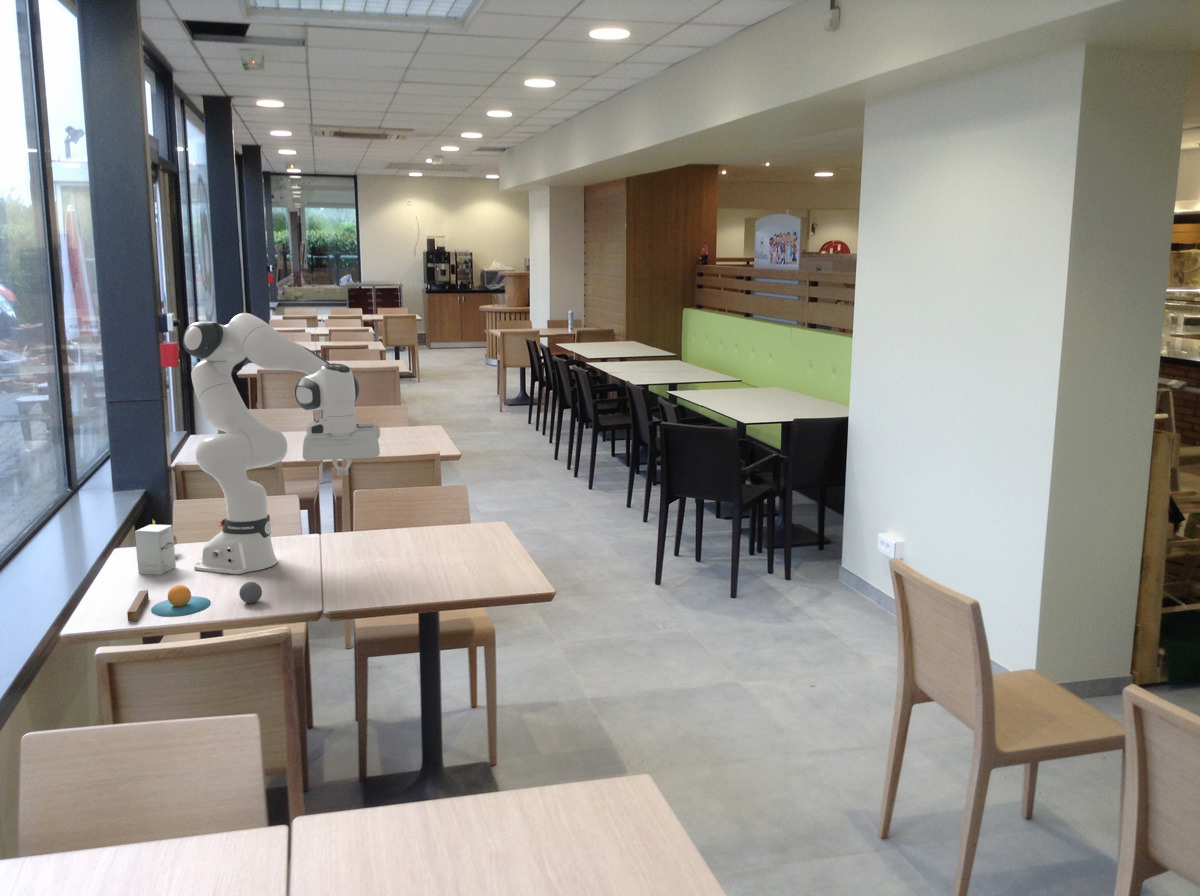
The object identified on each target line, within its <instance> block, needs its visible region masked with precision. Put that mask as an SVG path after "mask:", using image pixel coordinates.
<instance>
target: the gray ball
mask: <svg viewBox="0 0 1200 896" xmlns="http://www.w3.org/2000/svg"><path fill="white" fill-rule="evenodd" d="M238 594H239V595H238V596H239V598H240V600H241V601H242V602H244V603H246V604H254V603H255V604H256V603H257V602H259V600H260V599H261V598H262V594H263V589H262V587H261V586H260V585H259V584H258V583H257V582H255V581H247V582H245V583H244V584H242V585H241V586H240V589H239V591H238Z"/></svg>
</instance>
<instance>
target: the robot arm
mask: <svg viewBox="0 0 1200 896" xmlns="http://www.w3.org/2000/svg"><path fill="white" fill-rule="evenodd" d="M182 344H183V348H184V350H185V352H186V353H187V354H189V355H190V356H191V357H194V358H197V359H200V360H201V361H200V362H198V363H197V364H196V365H194V367H193V368H192V370H191V372H190V373H191V381H192V387H193V390H194V393H195V395H196V399H197V401H198V404H199V406H200V408H201V410H202V412H203V415H204V418H205V419H206V422H207V423H208V424H209V425H210V426H211V427H212V428H213V429H216V430H218V431H222V432H224V433H220V434H218V433H217V434H215V435H211V436H210V437H206V438H204V439H201V440H200V441H199V443H198V445H197V446H196V450H195V459H196V463H197V465H198V467H199V468H200V469H201V470H202V471H203V472H204V473H206V474H208V475H210V476H212V477H213V479H215V480H216V481H217V482H218V484H219V486H220V487H221V490H222V492H223V496H224V503H225V507H226V508H225V509H226V517H225V518H224V519H222V520H221V521H220V522H218V524H219V525H218V527H222V529H221V531H220V532H218V533H217V534H216V535H215V536H214V537H213V538H211V539H210V540H209V541H208V542H206V544H205V545H204V546H203V550H202V555H201V557H202V558H201V559H199V560H197V561H196V562H195V564H194V570H195V571H200V572H201V571H203V572H204V571H205V572H209V573H210V572H211V573H221V574H228V573H229V574H230V575H240V574H241V575H242V574H245V573H249V572H256V571H260V570H265V569H267V568H270V567H273V566H275V565H276V564H277V563H278V559H277V557H276V555H275V551H274V550H275V549H274V547H273V544H272V539H271V533H272V530H271V529H272V526H271V525H272V524H271V517H270V514H269V510H268V497H267V489H266V488H265V487H264V486H263V485H262V484H261V483H259V482H256V481H253V480H250V479H249V478H248V476H247V470H252V469H258V468H264V467H269V466H271V465H275V464H276V463H279V462H281V461H283V460H284V459H285V457H286V456H287V452H288V442H287V439H286V436H285V435H284V434H283V433H282V431H280V429H276V428H274V427H271V426H269V425H267V424H266V423H264V422H263V421H261V420H259V418H257V417H256V416H255V415H253V413H252V412H251V411H250V410H249V409H248V407H247V406H246V404H245V402H244V400H243V398H242V397H241V394H240V392H239V391H238V388H237V385H236V384H235V382H234V379H233V376H232V372H233V373H237V372H239V371H241V370H242V369H243V367H245V366H248V364H249V363H250V362H251V363H252V364H254V365H256V366H257V367H259V368H262V369H265V370H275V371H276V370H281V371H282V370H283V371H284V370H286V371H296V372H301V373H304V374H305V376H302V377H300V378H299V379H298V380H297V382H296V384H295V386H294V387H295V388H294V396H295V401H296V402H297V404H298V405H299V407H301V408H302V409H303V410H305V411H322V418H319V419H317V420H313V421H310V422H309V423H307V425H306V427H305V431H306V434H305V436H304V439H303V444H302V459H303V460H304V461H305V462H311V461H312V462H313V461H330V460H331V461H332V462H331V463H332V465H333V466H334V468H335V469H336V475H337V476H348V475H349V468H350V467H351V465H352V463H353V461H352V459H368V458H370V459H371V458H378V457H379V456H380V455H381V452H380V449H381V448H380V443H379V439H380V437H381V428H380V427H379V425H377V424H374V423H373V422H371V423H369V422H368V423H358V422H357V421H358V418H357V410H356V407H355V402H356V400H358V397H359V394H360V384H359V381H358V380H357V378H356V376H355V375H354V374H353V371H352V369H351V367H349V366H348V365H346V364H342V363H334V362H333V363H330V362H329V361H327V359H324V358H323V357H321V356H320V355H318V354H317V353H315V351H312V350H311V349H309V348H307V347H305V346H303V345H302V344H299V343H297V342H295V341H294V340H292V339H289V338H288V337H286V336H285V335H283V334H282V333H280V332H279V331H277V330H276V329H275V328H274V327H272V326H271V325H270V324H269V323H268V322H265V321H264V320H263V319H262V318H260V317H258V316H256V315H254V314H252V313H248V312H241V313H238V314H236V315H235V316H233V317H232V318H231V319H230V321H229V322H228V323H227V324H220V323H219V322H217V321H196V322H193V323H191V324H190V325H189V326H187V328H186V329H185V330H184V334H183V337H182ZM339 460H346V463H347V464H346V465H345V467H340V466H339V464H338V463H339V462H338V461H339ZM229 574H228V575H229Z"/></svg>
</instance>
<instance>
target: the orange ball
mask: <svg viewBox="0 0 1200 896" xmlns="http://www.w3.org/2000/svg"><path fill="white" fill-rule="evenodd" d="M191 596H192V592H191V590H190V588H189V587H187V586H186V585H184V584H177V585H173V586H172V587H171V588H170V589H169V590H168V592H167V600H169V602H170V603H171V604H172V605H174V606H177V607H180V606H184V605H186V604H187V603H188V602H189V601H190V599H191Z"/></svg>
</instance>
